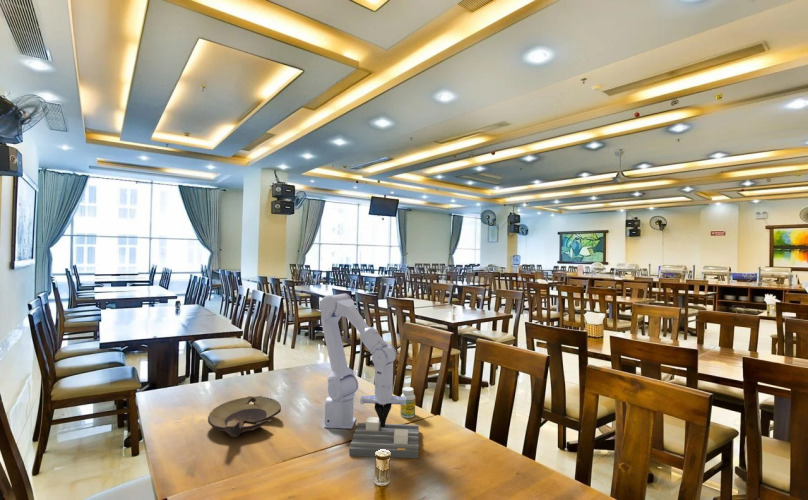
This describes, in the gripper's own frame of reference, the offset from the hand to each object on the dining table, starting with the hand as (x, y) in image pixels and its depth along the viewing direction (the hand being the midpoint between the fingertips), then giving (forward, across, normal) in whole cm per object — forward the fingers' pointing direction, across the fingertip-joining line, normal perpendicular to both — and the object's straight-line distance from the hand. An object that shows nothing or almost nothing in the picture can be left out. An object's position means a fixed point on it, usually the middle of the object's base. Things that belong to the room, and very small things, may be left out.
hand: (382, 426), depth 127 cm
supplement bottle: (+3, +8, +17) cm, 19 cm away
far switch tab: (+1, -3, 0) cm, 3 cm away
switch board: (+3, +2, -4) cm, 5 cm away
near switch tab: (+1, +6, -8) cm, 10 cm away
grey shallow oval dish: (+3, -48, +2) cm, 48 cm away
